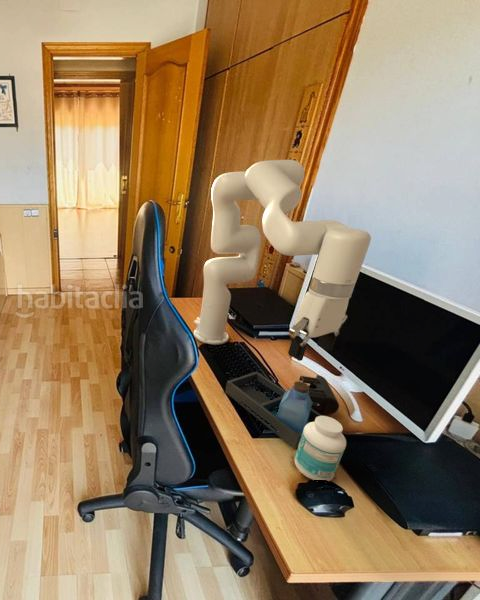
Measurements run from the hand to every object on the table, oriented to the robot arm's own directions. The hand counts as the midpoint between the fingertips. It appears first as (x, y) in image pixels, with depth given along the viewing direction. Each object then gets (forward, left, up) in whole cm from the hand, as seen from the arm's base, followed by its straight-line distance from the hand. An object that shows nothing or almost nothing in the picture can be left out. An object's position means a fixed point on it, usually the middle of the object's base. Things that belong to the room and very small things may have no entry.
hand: (309, 352), depth 78 cm
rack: (-4, -1, -21) cm, 22 cm away
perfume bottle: (+1, -1, -21) cm, 21 cm away
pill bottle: (+12, -8, -22) cm, 26 cm away
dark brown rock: (-2, +12, -22) cm, 25 cm away
